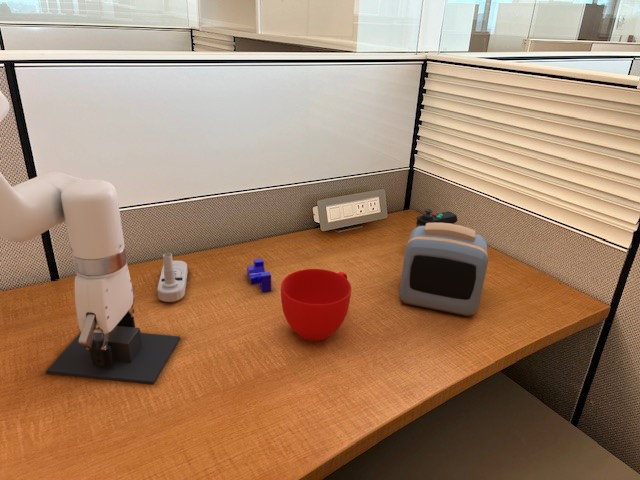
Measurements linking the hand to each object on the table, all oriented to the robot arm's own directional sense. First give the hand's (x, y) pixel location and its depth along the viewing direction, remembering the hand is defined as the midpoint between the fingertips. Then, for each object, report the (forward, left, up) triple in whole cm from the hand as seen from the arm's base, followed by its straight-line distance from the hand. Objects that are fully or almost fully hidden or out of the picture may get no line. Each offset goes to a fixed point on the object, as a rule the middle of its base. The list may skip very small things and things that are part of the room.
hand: (115, 349), depth 82 cm
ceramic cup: (+34, +14, -2) cm, 37 cm away
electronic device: (+1, +24, -2) cm, 24 cm away
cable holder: (+19, +28, -2) cm, 34 cm away
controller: (+61, +57, -2) cm, 83 cm away
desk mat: (0, 0, -1) cm, 1 cm away
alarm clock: (+59, +30, -2) cm, 66 cm away
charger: (0, 0, -1) cm, 1 cm away
